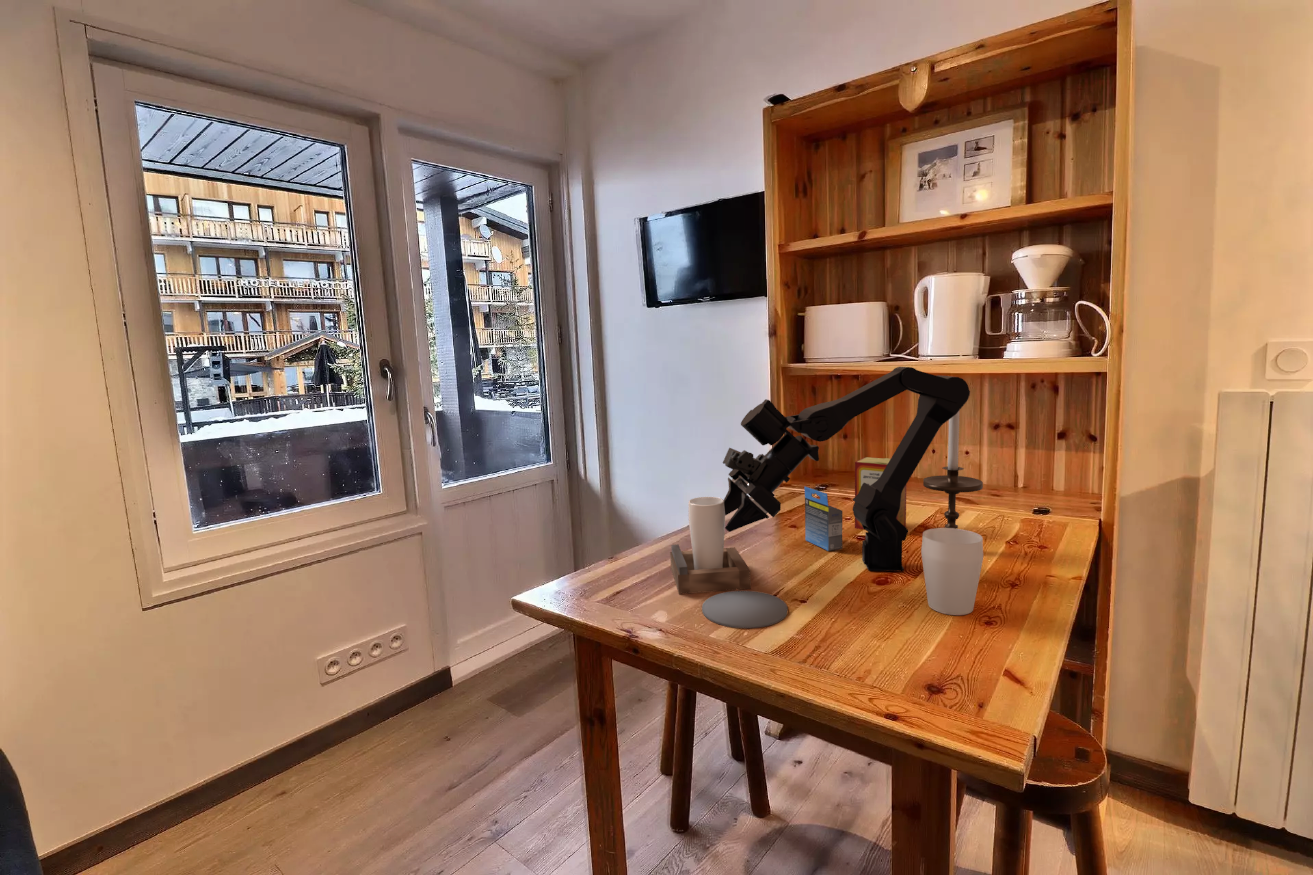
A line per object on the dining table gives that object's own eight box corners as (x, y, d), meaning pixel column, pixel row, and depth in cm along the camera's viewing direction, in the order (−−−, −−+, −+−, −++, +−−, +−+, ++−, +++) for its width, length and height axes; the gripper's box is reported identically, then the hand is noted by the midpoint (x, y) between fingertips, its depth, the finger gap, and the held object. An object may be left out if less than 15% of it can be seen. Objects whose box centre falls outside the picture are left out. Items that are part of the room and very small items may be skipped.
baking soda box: (854, 528, 149) (855, 460, 147) (865, 521, 154) (865, 455, 152) (896, 534, 143) (897, 463, 141) (905, 527, 148) (906, 458, 146)
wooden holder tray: (735, 564, 128) (734, 540, 128) (750, 588, 115) (750, 562, 115) (670, 568, 127) (669, 544, 127) (678, 593, 114) (677, 567, 114)
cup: (978, 623, 98) (980, 547, 96) (915, 612, 103) (916, 540, 101) (984, 602, 106) (986, 531, 104) (925, 592, 110) (926, 525, 109)
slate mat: (785, 594, 112) (785, 591, 112) (789, 629, 99) (789, 626, 99) (705, 592, 115) (705, 589, 114) (698, 626, 101) (698, 623, 101)
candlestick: (993, 554, 128) (999, 377, 122) (947, 562, 125) (952, 381, 119) (953, 539, 138) (957, 375, 133) (910, 545, 135) (913, 378, 130)
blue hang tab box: (843, 549, 135) (843, 491, 133) (827, 552, 133) (827, 494, 132) (819, 537, 143) (818, 483, 141) (804, 540, 142) (803, 485, 140)
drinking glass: (702, 587, 117) (700, 507, 115) (684, 576, 123) (681, 500, 121) (733, 580, 120) (731, 501, 118) (714, 569, 126) (711, 494, 124)
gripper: (738, 426, 127) (684, 484, 128) (761, 440, 109) (698, 507, 110) (777, 463, 129) (724, 520, 130) (807, 483, 111) (744, 549, 111)
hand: (722, 523), depth 120 cm, fingers open, 9 cm apart
